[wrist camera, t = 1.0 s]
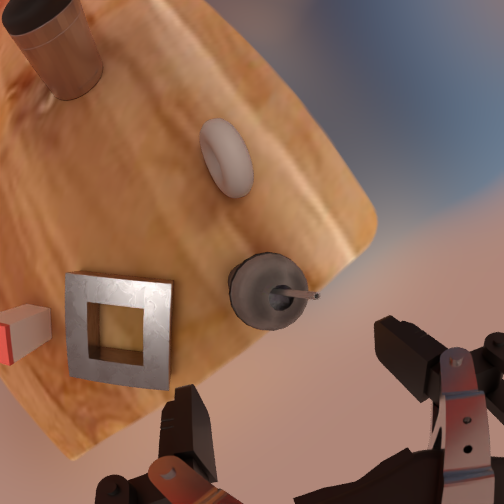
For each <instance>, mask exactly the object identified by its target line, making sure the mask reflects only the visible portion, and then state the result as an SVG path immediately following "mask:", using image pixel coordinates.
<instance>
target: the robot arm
mask: <svg viewBox="0 0 504 504" xmlns="http://www.w3.org/2000/svg"><path fill="white" fill-rule="evenodd" d="M2 23H3V25H4V27H5V28H6V30H7V31H8V33H9V34H10V36H11V37H12V39H13V40H14V41H15V43H16V44H17V46H18V47H19V48H20V50H21V51H22V53H23V54H24V55H25V57H26V58H27V60H28V61H29V62H30V64H31V65H32V67H33V68H34V69H35V71H36V72H37V73H38V75H39V76H40V77H41V79H42V80H43V81H44V83H45V84H46V86H47V87H48V88H49V89H50V91H51V92H52V93H53V95H54V96H55V97H56V98H58V99H61V100H71V99H75V98H77V97H80V96H82V95H83V94H85V93H86V92H88V91H89V90H90V89H91V88H92V87H93V86H94V85H95V84H96V83H97V82H98V80H99V78H100V77H101V74H102V70H103V64H102V61H101V59H100V56H99V53H98V51H97V48H96V45H95V42H94V40H93V37H92V34H91V31H90V28H89V26H88V23H87V20H86V17H85V14H84V11H83V8H82V5H81V2H80V0H10V1H9V3H8V4H7V6H6V7H5V9H4V11H3V14H2ZM374 338H375V352H376V355H377V357H378V359H379V361H380V362H381V363H382V364H383V365H384V366H385V367H386V368H387V369H388V370H389V371H390V372H391V373H392V374H393V375H394V376H395V377H396V378H397V379H398V380H399V381H400V382H401V383H402V384H403V385H404V386H405V387H406V388H407V390H408V391H409V392H410V393H411V394H412V395H413V396H414V397H415V398H416V399H417V400H418V401H419V402H420V403H422V402H423V401H425V400H427V399H428V398H430V399H431V400H432V404H431V425H430V439H429V445H428V449H427V450H422V451H417V452H413V453H412V452H411V451H410V450H409V449H408V448H405V449H404V450H402V451H400V452H399V453H397V454H395V455H393V456H391V457H390V458H388V459H386V460H384V461H382V462H381V463H380V464H379V465H377V466H376V467H375V468H374V469H372V470H371V471H370V472H368V473H367V474H366V475H365V476H363V477H362V478H361V479H359V480H357V481H355V482H351V483H346V484H342V485H336V486H331V487H326V488H322V489H319V490H316V491H313V492H311V493H308V494H305V495H302V496H298V497H295V498H293V499H294V502H295V504H504V457H491V456H490V437H489V425H488V416H487V409H488V410H489V411H490V412H491V413H492V414H493V415H494V416H495V417H496V418H497V419H498V420H499V421H500V422H501V423H502V424H503V425H504V380H503V379H502V377H503V374H504V333H500V332H496V333H492V334H489V335H488V336H487V337H486V338H485V342H484V346H483V347H481V348H478V349H476V350H473V351H470V352H469V351H467V350H466V349H464V348H460V347H454V348H450V349H448V348H446V347H445V346H444V345H442V344H441V343H439V342H438V341H437V340H435V339H434V338H433V337H431V336H430V335H427V333H426V332H424V331H423V330H421V329H420V328H419V327H417V326H416V325H414V324H413V323H409V322H406V321H401V322H400V321H398V320H397V319H395V318H394V317H393V316H391V315H389V316H387V317H384V318H383V319H380V320H378V321H376V322H375V323H374ZM160 428H161V430H160V440H159V455H158V459H157V460H155V461H154V462H153V463H152V464H151V466H150V467H149V470H148V473H146V474H144V475H142V476H139V477H136V478H134V479H130V480H128V481H127V480H126V479H125V478H124V477H122V476H120V475H110V476H107V477H105V478H104V479H102V480H101V481H100V482H99V484H98V486H97V489H96V497H95V504H243V503H241V502H240V501H239V500H237V499H236V498H234V497H233V496H231V495H230V494H228V493H227V492H225V491H224V490H222V489H218V488H216V487H215V486H213V485H212V484H211V483H213V482H217V473H216V466H215V458H214V450H213V441H212V432H211V423H210V417H209V414H208V411H207V409H206V407H205V405H204V403H203V401H202V399H201V397H200V395H199V393H198V392H197V390H196V388H195V386H194V385H193V384H191V385H186V386H182V387H178V388H176V389H175V400H174V401H169V402H167V403H166V405H165V407H164V408H163V410H162V416H161V427H160Z"/></svg>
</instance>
